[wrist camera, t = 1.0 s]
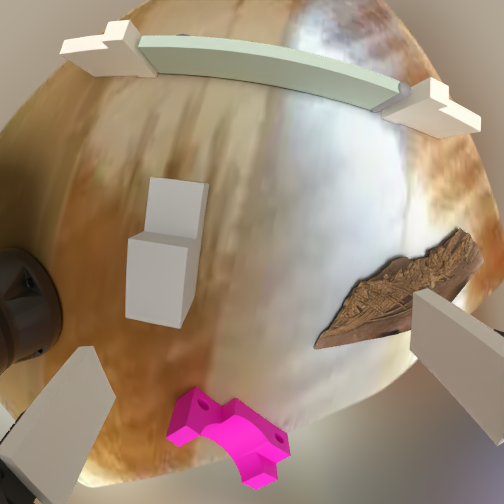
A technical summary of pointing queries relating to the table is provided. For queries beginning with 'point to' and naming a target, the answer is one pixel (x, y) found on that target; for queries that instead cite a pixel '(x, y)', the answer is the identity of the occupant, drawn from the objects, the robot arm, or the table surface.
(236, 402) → the magenta saddle bracket
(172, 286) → the white stepped block
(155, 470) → the table surface
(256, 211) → the table surface
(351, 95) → the spring door
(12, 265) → the robot arm
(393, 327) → the wooden fragment
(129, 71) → the wall frame
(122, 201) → the table surface
